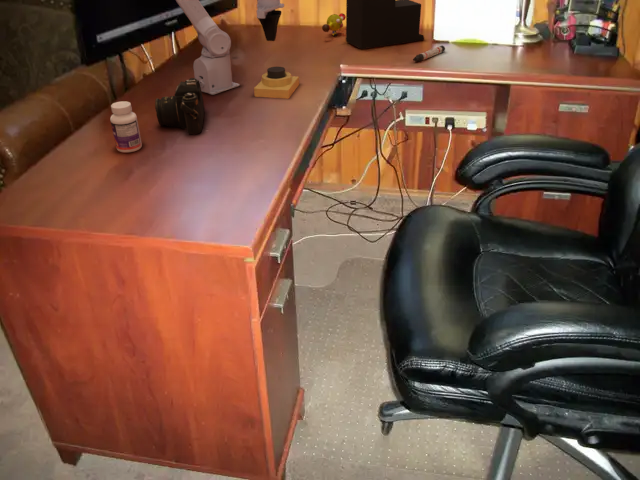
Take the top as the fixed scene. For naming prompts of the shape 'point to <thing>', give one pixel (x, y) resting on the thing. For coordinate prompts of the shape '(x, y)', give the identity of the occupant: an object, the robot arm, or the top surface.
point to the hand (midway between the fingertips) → (271, 40)
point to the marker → (429, 53)
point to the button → (276, 72)
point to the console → (276, 86)
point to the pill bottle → (125, 127)
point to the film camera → (182, 107)
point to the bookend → (382, 22)
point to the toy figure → (334, 23)
